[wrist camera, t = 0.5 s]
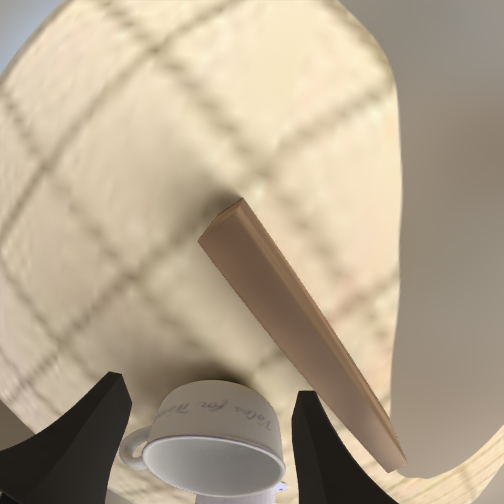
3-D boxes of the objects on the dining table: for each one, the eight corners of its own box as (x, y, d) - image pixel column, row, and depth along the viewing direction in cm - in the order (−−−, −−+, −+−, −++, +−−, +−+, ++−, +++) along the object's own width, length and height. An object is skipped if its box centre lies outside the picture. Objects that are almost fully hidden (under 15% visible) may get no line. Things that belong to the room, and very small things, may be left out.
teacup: (284, 362, 23) (291, 439, 15) (278, 439, 26) (281, 503, 18) (122, 353, 23) (83, 415, 15) (148, 430, 26) (127, 487, 19)
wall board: (371, 425, 25) (387, 473, 19) (218, 215, 19) (197, 241, 13) (388, 416, 25) (407, 463, 18) (243, 197, 19) (234, 215, 13)
